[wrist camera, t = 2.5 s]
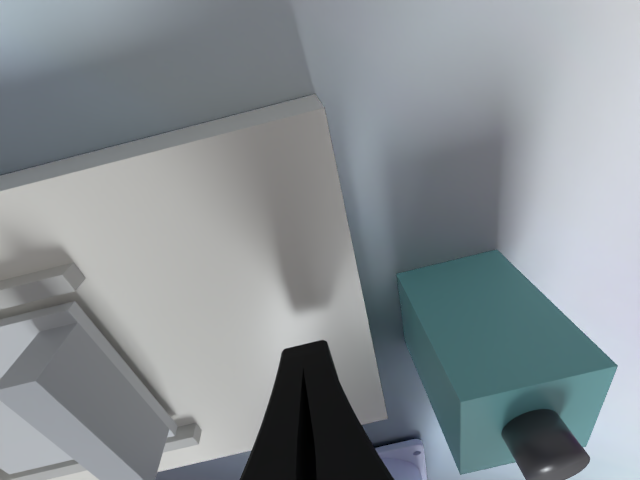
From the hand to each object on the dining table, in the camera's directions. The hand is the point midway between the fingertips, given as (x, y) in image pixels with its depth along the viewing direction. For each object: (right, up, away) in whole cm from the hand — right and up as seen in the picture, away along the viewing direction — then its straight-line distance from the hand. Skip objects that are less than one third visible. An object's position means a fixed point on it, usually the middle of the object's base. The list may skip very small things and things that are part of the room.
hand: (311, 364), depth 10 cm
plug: (+6, +1, +5) cm, 8 cm away
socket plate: (-9, 0, +4) cm, 10 cm away
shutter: (-10, -2, +1) cm, 10 cm away
